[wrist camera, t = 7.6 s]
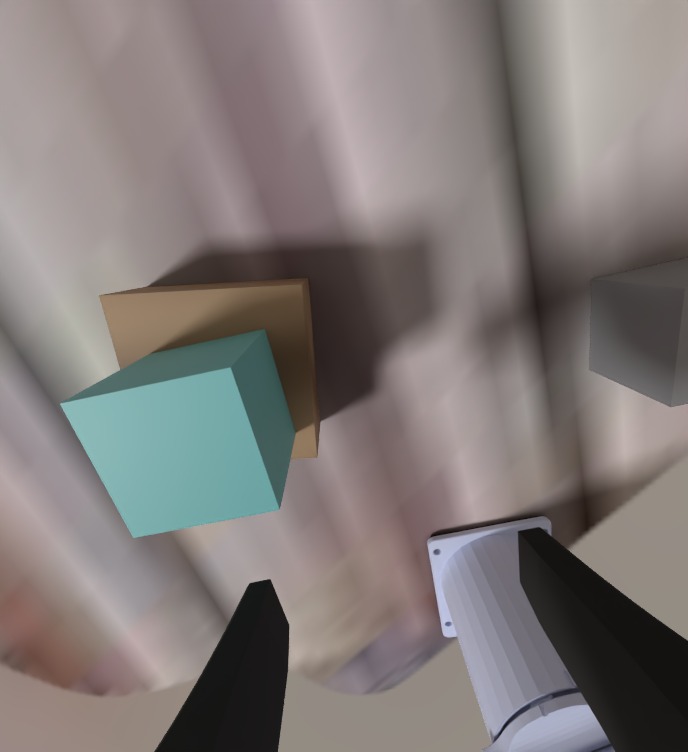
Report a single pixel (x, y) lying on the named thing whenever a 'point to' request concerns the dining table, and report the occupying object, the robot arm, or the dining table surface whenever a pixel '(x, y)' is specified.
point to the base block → (227, 333)
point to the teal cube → (189, 434)
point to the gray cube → (643, 330)
